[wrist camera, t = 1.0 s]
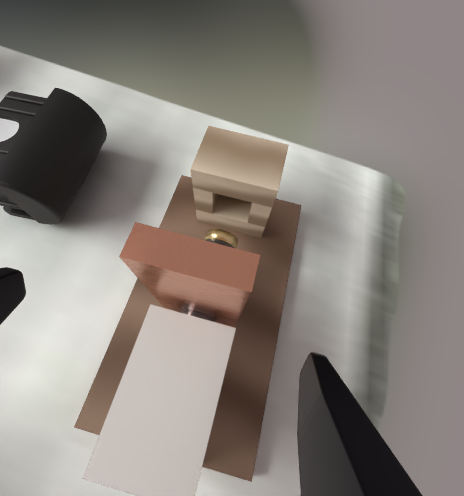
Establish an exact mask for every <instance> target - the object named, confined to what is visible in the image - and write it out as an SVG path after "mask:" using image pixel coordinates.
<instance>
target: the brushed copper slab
mask: <svg viewBox="0 0 464 496" xmlns="http://www.w3.org/2000/svg"><path fill="white" fill-rule="evenodd" d="M237 243H238V239H237V237H236V236H235V235H234V234H232V233H230V232H228V231H226V230H222V229H216V228H214V229H209V230H207V232H206V235H205V238H204V240H201V239H197V238H194V237H190V236H186V235H182V234H178V233H175V232H171V231H167V230H163V229H159V228H156V227H152V226H148V225H144V224H140V223H136V222H135V224H134V227H133V229H132V231H131V233H130V235H129V237H128V239H127V241H126V243H125V246H124V248H123V250H122V252H121V254H120V256H119V257H120V258H121V259H122V260H123V262H124V263H125V264H126V265H127V266H128V267H129V268H130V269H131V271H132V272H133V273H134V274H135V275H136V276H137V277H138V279H139V280H140V281H141V282H142V283H143V284H144V285H145V287H146V288H147V289H148V290H149V291H150V292H151V293H152V295H153V296H154V297H155V298H156V299H157V300H158V301H159V302H160V304H161V305H162V306H163V307H164V308H166V309H169V310H173V311H176V312H180V313H184V314H187V315H191V316H194V317H198V318H202V319H205V320H209V321H212V322H216V323H220V324H223V325H227V326H230V327H235V325H236V323H237V321H238V319H239V317H240V315H241V313H242V311H243V309H244V307H245V305H246V303H247V301H248V299H249V297H250V295H251V293H252V288H253V284H254V280H255V276H256V271H257V267H258V263H259V259H260V255H258V254H255V253H251V252H247V251H243V250H239V249H236V247H237Z"/></svg>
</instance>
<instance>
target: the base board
mask: <svg viewBox="0 0 464 496" xmlns="http://www.w3.org/2000/svg"><path fill="white" fill-rule="evenodd" d="M300 209H301V205H298V204H294V203H290V202H286V201H282V200H278V199H275V201H274V204H273V206H272V209H271V212H270V215H269V218H268V220H267V223H266V226H265V229H264V231H263V234H262V237H261V238H260V237H256V236H252V235H248V234H244V233H241V232H237V231H233V230H229V229H225V228H221V227H217V226H214V225H210V224H206V223H202V222H198V221H197V217H196V209H195V201H194V193H193V185H192V178H191V177H187V176H183V175H182V176H181V178H180V180H179V183H178V185H177V187H176V190H175V192H174V194H173V197H172V199H171V202H170V204H169V206H168V209H167V211H166V213H165V216H164V218H163V220H162V223H161V225H160V227H159V229H163V230H167V231H171V232H175V233H178V234H182V235H186V236H190V237H194V238H197V239H201V240H204V238H205V235H206V232H207V230H209V229H214V228H216V229H222V230H226V231H228V232H230V233H232V234H234V235H235V236H236V237H237V239H238V243H237V247H236V249H239V250H243V251H247V252H251V253H255V254H258V255H260V259H259V263H258V267H257V271H256V276H255V280H254V284H253V288H252V293H251V295H250V297H249V299H248V301H247V303H246V305H245V307H244V309H243V311H242V313H241V315H240V317H239V319H238V321H237V323H236V325H235V327H234V328H236V330H235V334H234V338H233V342H232V346H231V351H230V355H229V359H228V363H227V367H226V371H225V375H224V379H223V383H222V387H221V391H220V395H219V399H218V404H217V408H216V412H215V416H214V420H213V424H212V428H211V432H210V436H209V440H208V444H207V448H206V452H205V457H204V461H203V465H202V467H205V468H209V469H212V470H215V471H218V472H222V473H225V474H228V475H231V476H235V477H238V478H241V479H244V480H248V481H251V482H252V477H253V471H254V465H255V460H256V454H257V449H258V443H259V438H260V432H261V426H262V421H263V415H264V410H265V404H266V399H267V393H268V387H269V382H270V376H271V371H272V365H273V360H274V354H275V348H276V343H277V337H278V332H279V326H280V321H281V315H282V309H283V304H284V298H285V293H286V287H287V282H288V276H289V270H290V265H291V259H292V254H293V248H294V243H295V237H296V232H297V226H298V220H299V215H300ZM150 304H151V305H155V306H158V307H162V308H164V307H163V306H162V305H161V304H160V302H159V301H158V300H157V299H156V298H155V297H154V296H153V295H152V293H151V292H150V291H149V290H148V289H147V288H146V287H145V285H144V284H143V283H142V282H141V281H140V280H139V279H137V281H136V283H135V286H134V288H133V290H132V293H131V295H130V297H129V300H128V302H127V304H126V307H125V309H124V312H123V314H122V316H121V319H120V321H119V323H118V326H117V328H116V330H115V333H114V335H113V337H112V340H111V342H110V344H109V347H108V349H107V351H106V354H105V356H104V358H103V361H102V363H101V365H100V368H99V370H98V372H97V375H96V377H95V379H94V382H93V384H92V386H91V389H90V391H89V393H88V396H87V398H86V400H85V403H84V405H83V407H82V410H81V412H80V415H79V417H78V419H77V422H76V424H75V426H74V427H75V428H78V429H81V430H85V431H88V432H91V433H94V434H98V435H100V432H101V430H102V427H103V425H104V422H105V420H106V417H107V414H108V412H109V409H110V407H111V404H112V402H113V399H114V396H115V394H116V391H117V389H118V386H119V384H120V381H121V379H122V376H123V373H124V371H125V368H126V366H127V363H128V361H129V358H130V355H131V353H132V350H133V348H134V345H135V343H136V340H137V337H138V335H139V332H140V330H141V327H142V325H143V322H144V319H145V317H146V314H147V312H148V309H149V307H150Z"/></svg>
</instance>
